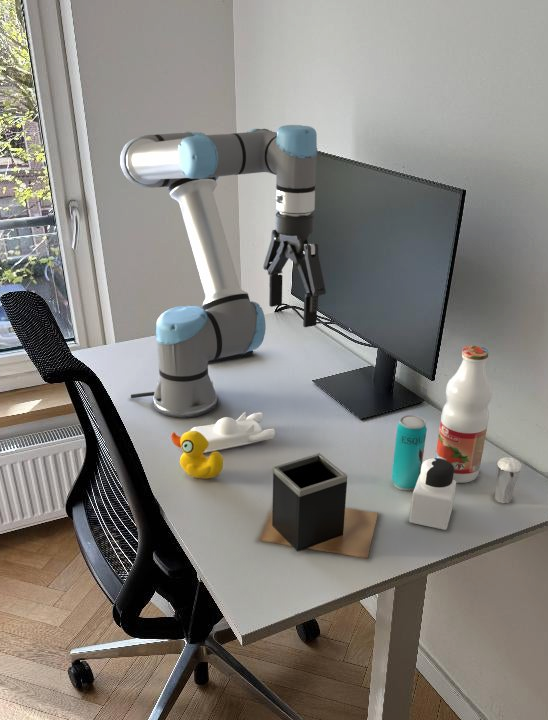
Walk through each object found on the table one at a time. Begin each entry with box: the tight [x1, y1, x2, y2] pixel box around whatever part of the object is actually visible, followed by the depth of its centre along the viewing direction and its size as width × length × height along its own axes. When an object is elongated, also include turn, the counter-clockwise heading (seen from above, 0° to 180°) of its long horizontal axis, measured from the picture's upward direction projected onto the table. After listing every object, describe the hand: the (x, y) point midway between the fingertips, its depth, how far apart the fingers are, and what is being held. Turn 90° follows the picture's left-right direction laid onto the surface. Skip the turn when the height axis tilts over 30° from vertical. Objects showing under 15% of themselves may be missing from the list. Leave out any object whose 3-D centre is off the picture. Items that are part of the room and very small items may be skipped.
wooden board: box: [258, 507, 379, 559], centre depth 142 cm, size 20×14×1 cm
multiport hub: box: [208, 350, 254, 364], centre depth 209 cm, size 4×14×2 cm, turn 116°
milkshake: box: [494, 456, 528, 504], centre depth 149 cm, size 4×5×10 cm
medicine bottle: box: [408, 457, 457, 531], centre depth 143 cm, size 7×7×12 cm
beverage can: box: [391, 414, 428, 492], centre depth 152 cm, size 6×6×15 cm
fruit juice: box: [434, 345, 494, 484], centre depth 153 cm, size 9×9×28 cm
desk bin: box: [271, 452, 348, 552], centre depth 137 cm, size 13×9×10 cm
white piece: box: [189, 411, 276, 454], centre depth 168 cm, size 10×20×6 cm, turn 111°
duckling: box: [170, 430, 224, 480], centre depth 154 cm, size 11×5×10 cm, turn 68°
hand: (292, 315), depth 158 cm, fingers open, 13 cm apart
